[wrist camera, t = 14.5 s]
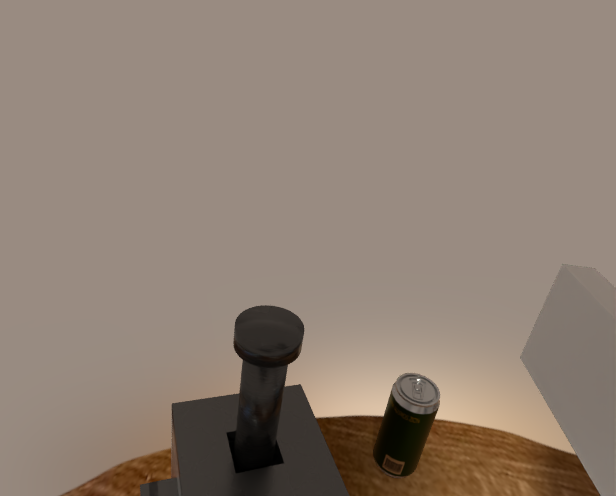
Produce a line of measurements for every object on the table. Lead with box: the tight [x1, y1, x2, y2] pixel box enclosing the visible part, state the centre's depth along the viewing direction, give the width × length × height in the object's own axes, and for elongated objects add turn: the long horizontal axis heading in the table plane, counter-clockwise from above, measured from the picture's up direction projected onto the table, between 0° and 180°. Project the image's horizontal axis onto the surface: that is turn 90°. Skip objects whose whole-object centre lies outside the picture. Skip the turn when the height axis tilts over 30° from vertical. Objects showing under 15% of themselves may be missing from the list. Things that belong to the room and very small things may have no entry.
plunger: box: [233, 306, 304, 473], centre depth 36 cm, size 8×8×28 cm
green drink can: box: [373, 373, 440, 478], centre depth 54 cm, size 5×5×12 cm
